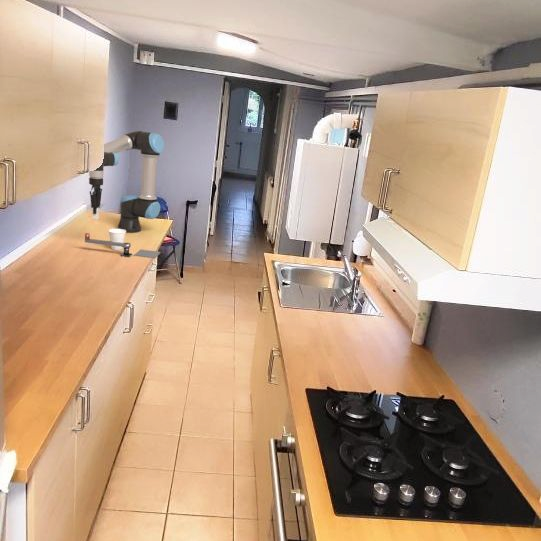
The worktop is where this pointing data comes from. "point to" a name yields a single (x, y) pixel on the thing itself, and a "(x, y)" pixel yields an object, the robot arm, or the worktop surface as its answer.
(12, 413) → the worktop surface
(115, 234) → the cup
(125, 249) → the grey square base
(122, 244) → the lever
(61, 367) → the worktop surface
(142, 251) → the mat
